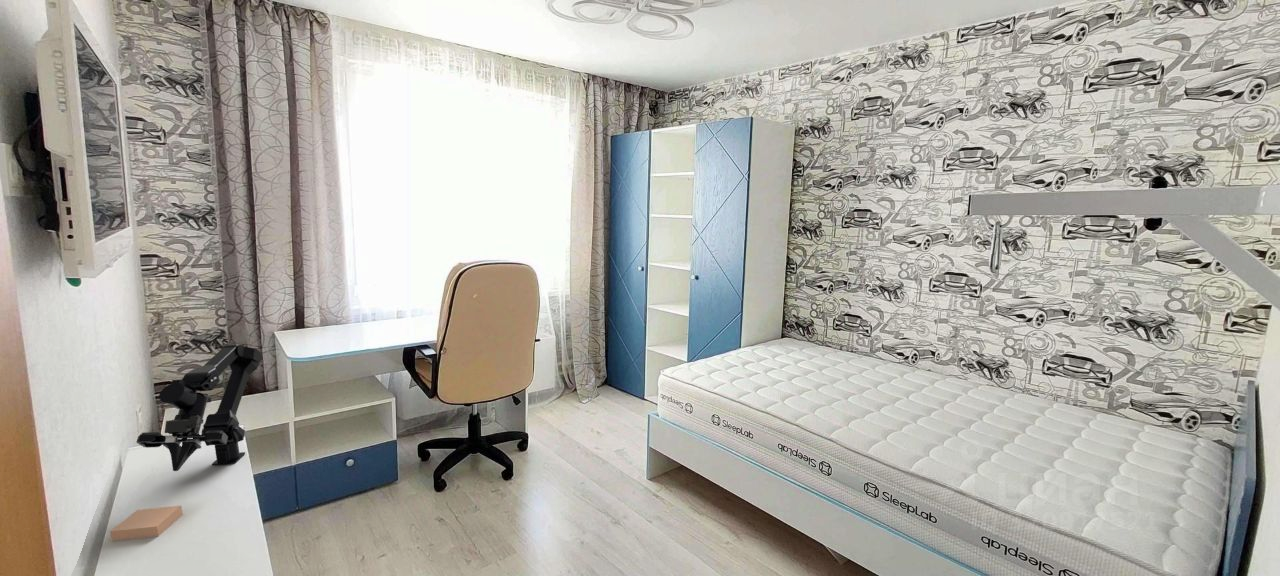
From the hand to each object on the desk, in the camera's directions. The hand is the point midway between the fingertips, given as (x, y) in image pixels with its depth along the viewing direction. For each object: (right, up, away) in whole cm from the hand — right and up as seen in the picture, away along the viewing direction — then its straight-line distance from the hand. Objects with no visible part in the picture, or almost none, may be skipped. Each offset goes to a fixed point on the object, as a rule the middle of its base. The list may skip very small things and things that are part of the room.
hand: (175, 470), depth 144 cm
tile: (+1, -9, -6) cm, 11 cm away
